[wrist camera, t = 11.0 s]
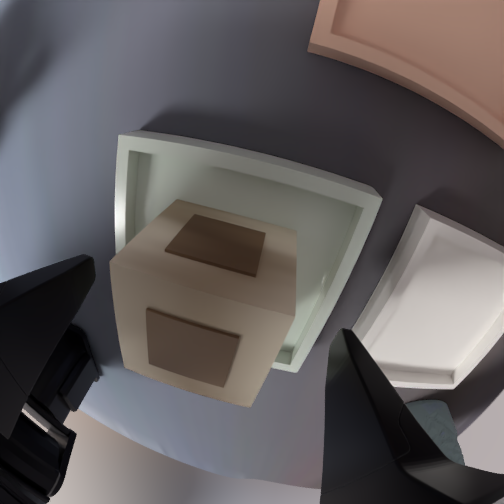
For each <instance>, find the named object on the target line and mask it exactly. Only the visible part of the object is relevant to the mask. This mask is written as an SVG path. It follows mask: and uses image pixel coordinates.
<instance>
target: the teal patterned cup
mask: <svg viewBox="0 0 504 504" xmlns="http://www.w3.org/2000/svg"><path fill="white" fill-rule="evenodd" d="M406 406H407V407H408V409H409V410H410V411H411V413H412V414H413V416H414V417H415V418H416V420H417V421H418V422H419V424H420V425H421V426H422V428H423V429H424V430H425V431H426V433H427V434H428V435H429V436H430V437H431V439H432V440H433V441H434V442H435V444H436V445H437V446H438V447H439V448H440V450H441V451H442V452H443V453H444V454H445V456H446V457H448V458H449V459H450V460H452V461H453V462H456V463H458V464H461V465H465V463H464V459H463V455H462V452H461V448H460V446H459V443H458V441H457V430H456V428H455V425H454V422H453V419H452V416H451V414H450V411H449V408H448V406H447V403H444V402H443V401H440V400H423V401H421V400H420V401H415V402H411V403H407V404H406Z"/></svg>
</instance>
